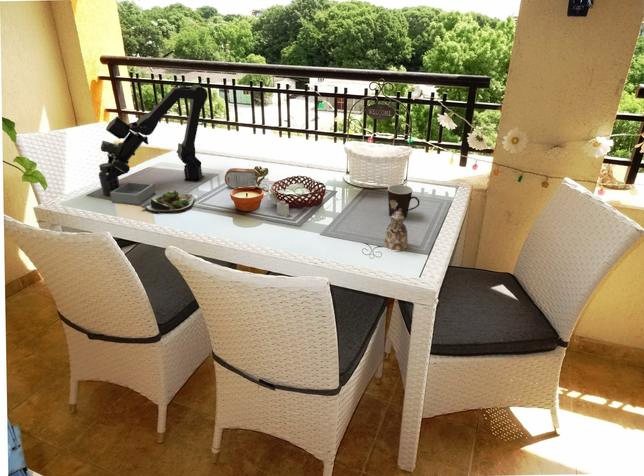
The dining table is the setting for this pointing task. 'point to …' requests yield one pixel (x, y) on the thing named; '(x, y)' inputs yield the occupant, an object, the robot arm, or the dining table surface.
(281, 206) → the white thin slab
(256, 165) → the dining table surface
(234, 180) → the tin
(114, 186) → the supplement bottle
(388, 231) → the figurine
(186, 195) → the salad plate
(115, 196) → the square tray
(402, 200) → the coffee mug
